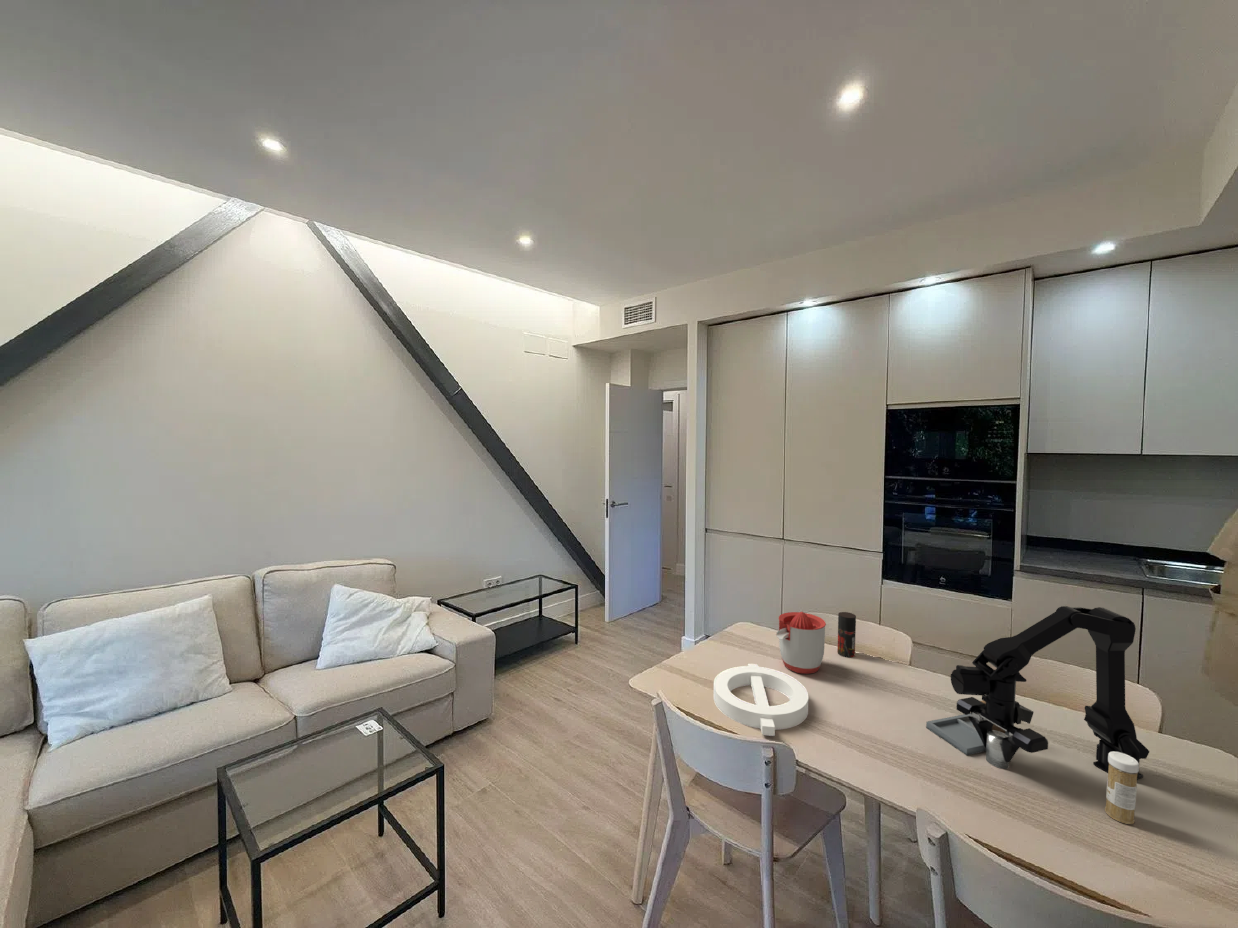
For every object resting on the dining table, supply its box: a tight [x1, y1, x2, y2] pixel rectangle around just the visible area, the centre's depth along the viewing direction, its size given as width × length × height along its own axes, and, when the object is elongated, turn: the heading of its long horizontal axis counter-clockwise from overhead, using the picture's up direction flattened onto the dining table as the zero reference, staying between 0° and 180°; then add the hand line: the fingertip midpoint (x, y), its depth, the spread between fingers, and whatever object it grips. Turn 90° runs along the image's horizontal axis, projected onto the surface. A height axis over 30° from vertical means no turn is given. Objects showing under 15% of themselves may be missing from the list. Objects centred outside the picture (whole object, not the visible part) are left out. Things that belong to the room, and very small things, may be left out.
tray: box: [925, 712, 1009, 756], centre depth 132 cm, size 12×20×2 cm, turn 104°
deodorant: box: [837, 611, 857, 659], centre depth 180 cm, size 6×6×15 cm
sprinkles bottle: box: [1104, 751, 1140, 825], centre depth 103 cm, size 5×5×13 cm
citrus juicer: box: [775, 611, 827, 674], centre depth 170 cm, size 16×17×20 cm
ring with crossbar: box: [713, 663, 809, 737], centre depth 149 cm, size 28×28×5 cm
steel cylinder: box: [985, 730, 1010, 770], centre depth 121 cm, size 5×5×7 cm
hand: (997, 755), depth 121 cm, fingers closed on steel cylinder, 5 cm apart
